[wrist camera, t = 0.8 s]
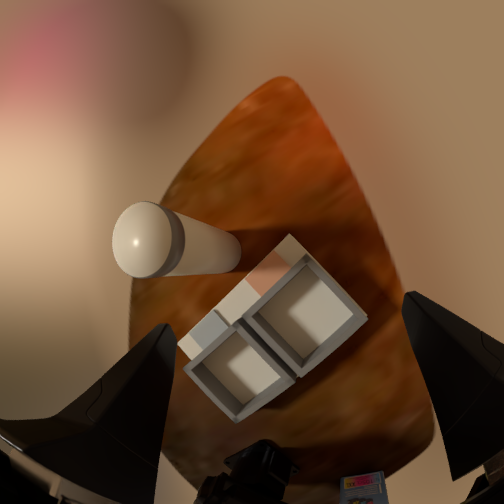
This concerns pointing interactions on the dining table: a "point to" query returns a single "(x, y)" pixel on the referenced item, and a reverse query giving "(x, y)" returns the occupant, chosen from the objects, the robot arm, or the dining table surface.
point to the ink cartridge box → (364, 489)
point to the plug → (170, 244)
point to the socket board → (269, 331)
